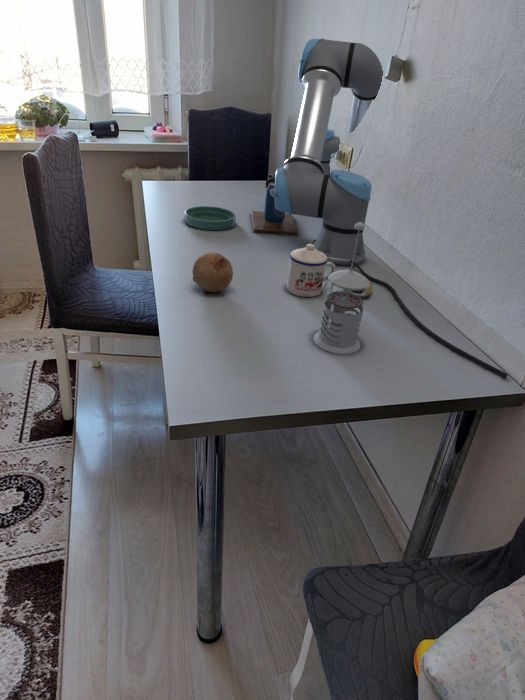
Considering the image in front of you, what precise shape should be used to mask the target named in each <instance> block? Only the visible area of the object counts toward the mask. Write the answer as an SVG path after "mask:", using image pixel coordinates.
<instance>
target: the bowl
mask: <svg viewBox="0 0 525 700" xmlns="http://www.w3.org/2000/svg"><path fill="white" fill-rule="evenodd" d="M184 222H185V224H186V225H187V226H190V227H193V228H195V229H201V230H207V231H222V230H229V229H231V228H234V226H235V225H236V213H235V212H234V211H231V210H229V209H227V208H224V207H218V206H206V205H205V206H203V205H201V206H200V205H199V206H192V207H189V208H187V209H185V210H184Z"/></svg>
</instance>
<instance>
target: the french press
mask: <svg viewBox="0 0 525 700" xmlns="http://www.w3.org/2000/svg"><path fill="white" fill-rule="evenodd" d="M365 227H366V226H365V225H364V224H363V223H361V222H358V223H356V224H355V225H354V228H355V229H356V230H358V234H357V239H356V244H355V249H354V255H353V260H352V265H351V266H350V269H343V270H342V269H341V270H335V272H333V273H331V274H330V273H329V274H330V275H329V274H328V275H329V276H328V275H327V276H328V279H329V280H327V281H325V284H324V287H323V292H322V297H323V298H322V301H323V311H322V317H321V322H320V328H319V330H318V332H316V333H315V334H314V335H313V341H314V343H315V345H316V346H318V347H319V348H320V349H322V350H324V351H327V352H330V353H332V354H333V353H334V354H340V355H346V354H347V355H348V354H353V353H356V352H357V351H359V350H360V348H361V341H360V340H359V339H358V336H359V332H360V329H359V328H360V327H361V321H362V318H363V314H364V307H363V305H364V300H363V298H362V297H360V296H357V295H355V294H352V293H348V292H347V291H348V290H351V291H360V290H365V289H366V288H368V287H369V286H370V282H371V281H370V279H368V278H367V277H365V276H364V275H363V274H362V273H361V272H358V271H353V266H354V265H353V261H354V256H355V251H356V246H357V241H358V236H359V231H360V230H363V231H365ZM369 281H370V282H369ZM329 282H330V283H331V286H330V290H329V293H328V294H327V295H326V300H325V292H326V286H327V284H328V283H329ZM333 286H334V287H337V288H339V289H342V290H343V291H342V290H336V291H333ZM344 289H345V290H346V292H344ZM331 308H332V309H331ZM357 309H358V310H359V311H358V310H357ZM346 312H352V313H346ZM353 313H355V314H353Z"/></svg>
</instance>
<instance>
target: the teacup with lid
mask: <svg viewBox="0 0 525 700" xmlns="http://www.w3.org/2000/svg"><path fill="white" fill-rule="evenodd" d="M314 247H315V246H314V244H313V243H307V244H306V245H305V246H304V247H301V248H295V249H293V250H292V251H290V254H289V265H288V266H289V267H288V274H287V282H286V290H287V291H288V292H289V293H290V294H292V295H295V296H298V297H303V298H313V297H317V296H319V295H320V294H321V293H322V290H323V285H324V284H323V283H324V282H327V280H329V279H328V276H329V275H330V274H331V273H333V272H336V265H334V264H333V263H332V262H328V259H327V256H326V255H325V254H324V253H322V252H320V251H318V250H317V249H315V248H314ZM326 266H330V267H331V270H330V272H329V274H328V275H327V276H325V272H326Z"/></svg>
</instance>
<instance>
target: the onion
mask: <svg viewBox="0 0 525 700" xmlns="http://www.w3.org/2000/svg"><path fill="white" fill-rule="evenodd" d="M191 273H192V280H193V283H196V285H197V286H198V287H199V288H200V289H201V290H202V291H203V292H208V293H219V292H222V291H224V290H225V289H227V288H228V287H229V285H231V282H232V280H233V277H234V270H233V267H232V263H231V262H230V259H228V258H227V257H225V256H224V255H222V254H221V253H218V252H205V253H203V254H201V255H199V257H198V258H197V259H196V260H195V262H194V264H193V266H192V270H191Z"/></svg>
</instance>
